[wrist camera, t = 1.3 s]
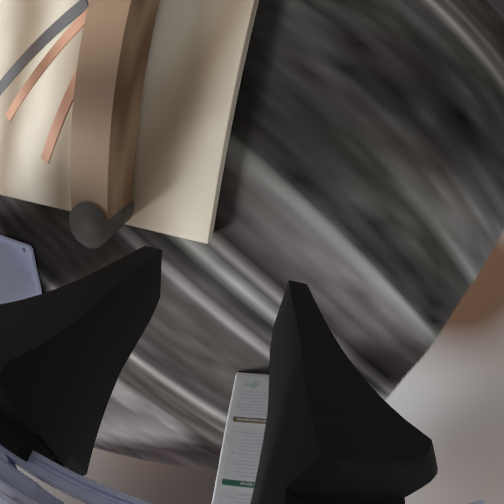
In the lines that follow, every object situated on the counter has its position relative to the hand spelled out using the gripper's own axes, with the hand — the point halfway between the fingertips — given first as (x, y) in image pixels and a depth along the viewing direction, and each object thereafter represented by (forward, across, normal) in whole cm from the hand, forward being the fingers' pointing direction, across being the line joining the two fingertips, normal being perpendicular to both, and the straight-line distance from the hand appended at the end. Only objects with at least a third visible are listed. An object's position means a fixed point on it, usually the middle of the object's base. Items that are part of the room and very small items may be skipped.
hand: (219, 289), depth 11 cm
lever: (+7, +8, -7) cm, 13 cm away
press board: (+9, +12, -7) cm, 17 cm away
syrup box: (+10, -5, +18) cm, 21 cm away
